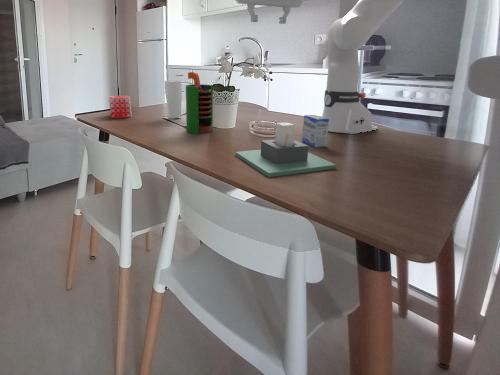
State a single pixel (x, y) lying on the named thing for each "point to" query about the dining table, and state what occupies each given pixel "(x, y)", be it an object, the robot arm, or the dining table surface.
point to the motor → (199, 106)
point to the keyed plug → (285, 134)
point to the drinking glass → (173, 97)
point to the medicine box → (315, 130)
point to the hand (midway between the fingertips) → (268, 22)
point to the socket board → (284, 159)
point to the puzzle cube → (120, 106)
